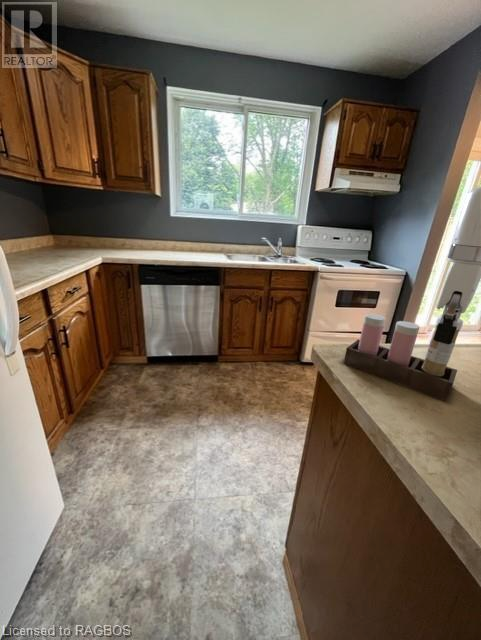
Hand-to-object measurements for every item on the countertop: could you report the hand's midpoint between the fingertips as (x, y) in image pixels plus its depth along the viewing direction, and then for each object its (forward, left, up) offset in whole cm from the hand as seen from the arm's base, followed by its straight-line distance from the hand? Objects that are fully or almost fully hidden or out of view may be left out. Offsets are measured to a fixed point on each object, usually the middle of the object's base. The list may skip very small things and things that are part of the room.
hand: (443, 338), depth 60 cm
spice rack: (+7, 0, -13) cm, 15 cm away
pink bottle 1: (+15, 0, -12) cm, 19 cm away
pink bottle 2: (+7, 0, -12) cm, 14 cm away
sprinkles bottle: (0, 0, -9) cm, 9 cm away
